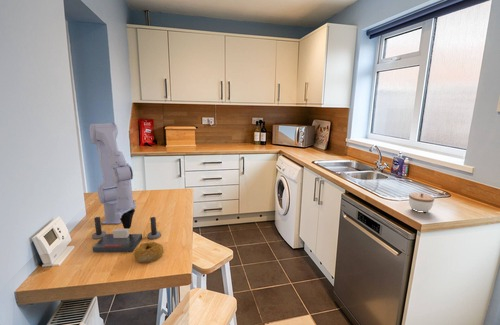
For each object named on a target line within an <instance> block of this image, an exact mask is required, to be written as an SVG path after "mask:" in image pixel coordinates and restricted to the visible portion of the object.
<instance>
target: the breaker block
mask: <svg viewBox="0 0 500 325" xmlns="http://www.w3.org/2000/svg"><path fill="white" fill-rule="evenodd" d="M142 240H143V234H142V233H129V236H128V237H127V238H114V237H113V233H106V235H105V236H104V237H103V238H102V239H99V241H97V243H95V244H94V245H93V246H92V253H133V252H135V250H136V249H137V248H138V246H139V244H140V243H141V242H142Z"/></svg>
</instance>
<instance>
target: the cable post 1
mask: <svg viewBox="0 0 500 325" xmlns="http://www.w3.org/2000/svg"><path fill="white" fill-rule="evenodd" d="M94 228H95V232H93V233H92V235H91V238H92V239H93V240H101V239H102V238H103V237H104V236H105V235H106V234H107V231H103V230H102V222H101V217H100V216H95V217H94Z"/></svg>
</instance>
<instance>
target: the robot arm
mask: <svg viewBox="0 0 500 325" xmlns="http://www.w3.org/2000/svg"><path fill="white" fill-rule="evenodd" d="M88 131H89V137H90V141H91V143H92V144H94V145H96V147H97V150H98V156H99V161H100V162H99V163H100V168H101V173H102V178H103V181H102V182H101V183H100V184H99V185H98V188H97V196H98V201H99V202H100V203H101V204H102V205H103V209H104V220H103V221H102V222H101V225H103V224H104V225H110V224H111V225H112V224H113V225H116V224H117V225H120V224H122V227H123V229H128V230H129V229H131V227H132V223H133V222H132V221H133V216H134V214H135V212H136V209H137V205H136V200H133V187H132V180H133V178H134V173H133V172H134V171H133V169H132V166H131V165H130V164H129V163H127V160H126V158H125V155H124V153H123V152H122V151H120V150H119V148H118V143H117V136H118V133H119V131H118V126H117V124H116V123H115V122H108V123H107V122H105V123H90V125H89V130H88Z"/></svg>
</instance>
